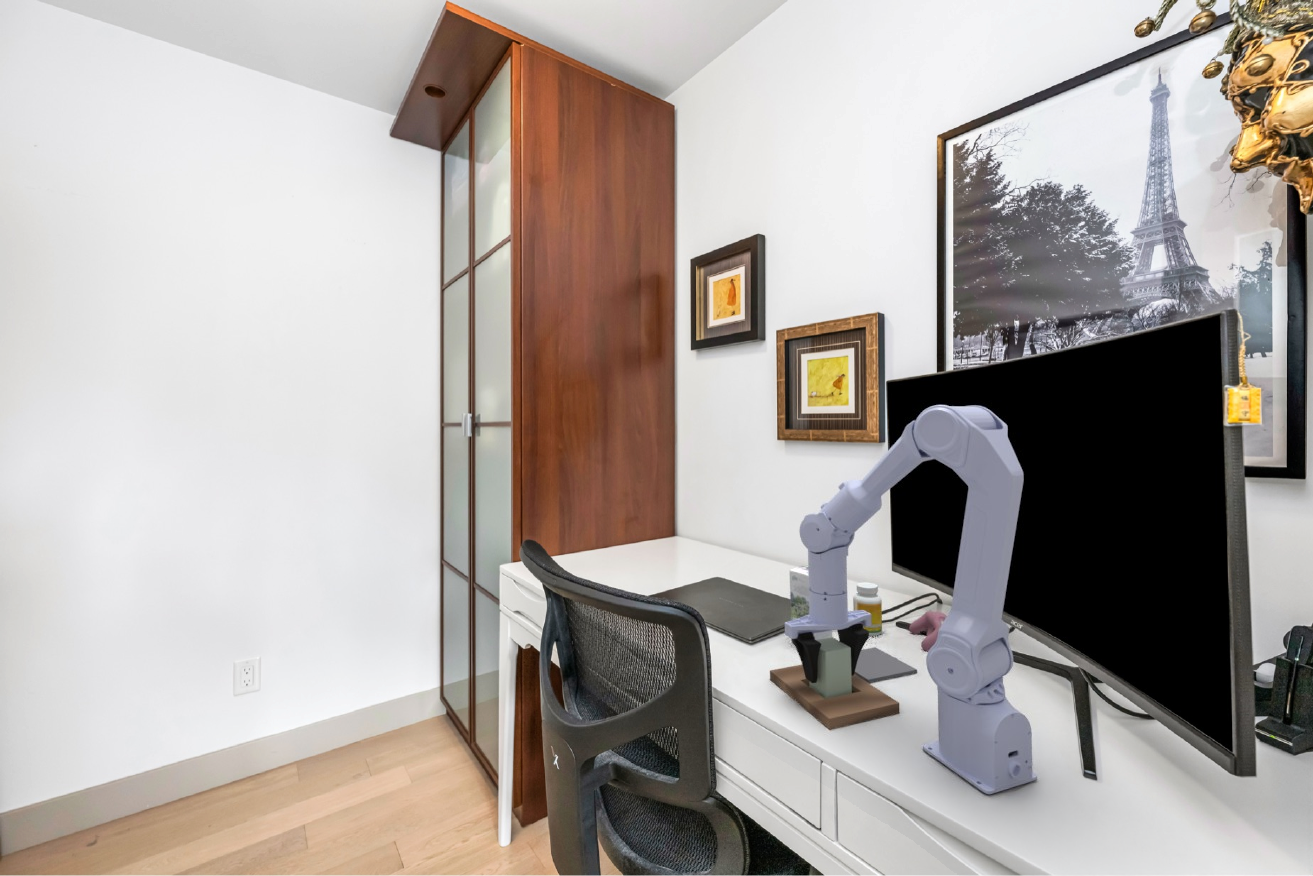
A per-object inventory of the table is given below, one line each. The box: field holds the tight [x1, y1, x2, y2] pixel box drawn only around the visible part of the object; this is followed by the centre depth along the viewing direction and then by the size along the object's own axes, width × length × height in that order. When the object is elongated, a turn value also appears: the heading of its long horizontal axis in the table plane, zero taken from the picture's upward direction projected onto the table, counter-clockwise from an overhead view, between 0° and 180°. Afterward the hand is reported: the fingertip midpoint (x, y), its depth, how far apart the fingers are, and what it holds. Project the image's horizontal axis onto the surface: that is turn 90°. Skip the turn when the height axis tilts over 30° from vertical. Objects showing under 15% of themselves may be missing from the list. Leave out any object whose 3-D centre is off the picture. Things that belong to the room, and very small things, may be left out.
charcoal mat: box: [854, 646, 918, 684], centre depth 93 cm, size 10×10×1 cm
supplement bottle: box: [852, 581, 883, 637], centre depth 108 cm, size 5×5×10 cm
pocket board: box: [769, 664, 901, 731], centre depth 83 cm, size 16×12×2 cm
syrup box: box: [789, 564, 833, 643], centre depth 103 cm, size 6×6×14 cm
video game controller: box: [908, 608, 948, 652], centre depth 102 cm, size 10×5×7 cm, turn 169°
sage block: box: [809, 636, 852, 699], centre depth 83 cm, size 4×4×8 cm
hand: (829, 676), depth 83 cm, fingers open, 6 cm apart
